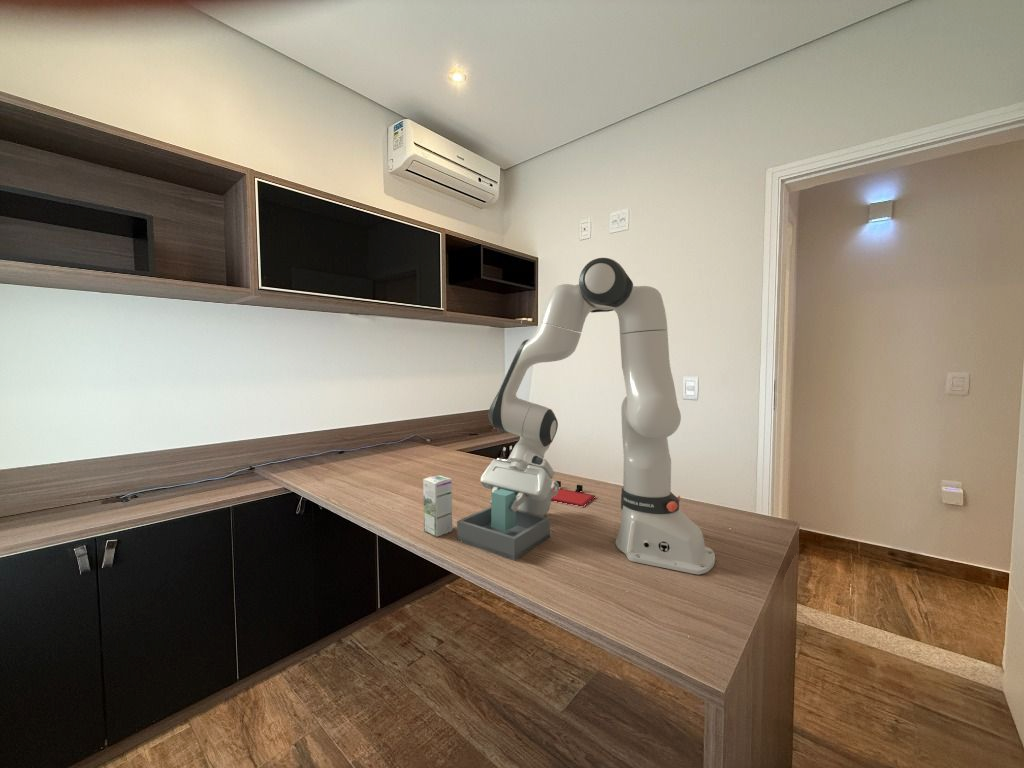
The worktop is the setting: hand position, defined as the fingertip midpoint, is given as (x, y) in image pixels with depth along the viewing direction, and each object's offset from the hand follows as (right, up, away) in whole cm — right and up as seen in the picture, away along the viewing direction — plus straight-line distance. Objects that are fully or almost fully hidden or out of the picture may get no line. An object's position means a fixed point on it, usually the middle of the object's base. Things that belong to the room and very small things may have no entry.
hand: (502, 507), depth 103 cm
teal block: (0, -5, +1) cm, 5 cm away
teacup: (+10, -8, +16) cm, 21 cm away
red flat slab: (+16, -7, +38) cm, 42 cm away
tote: (0, -8, +1) cm, 8 cm away
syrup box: (-17, -8, +5) cm, 20 cm away
